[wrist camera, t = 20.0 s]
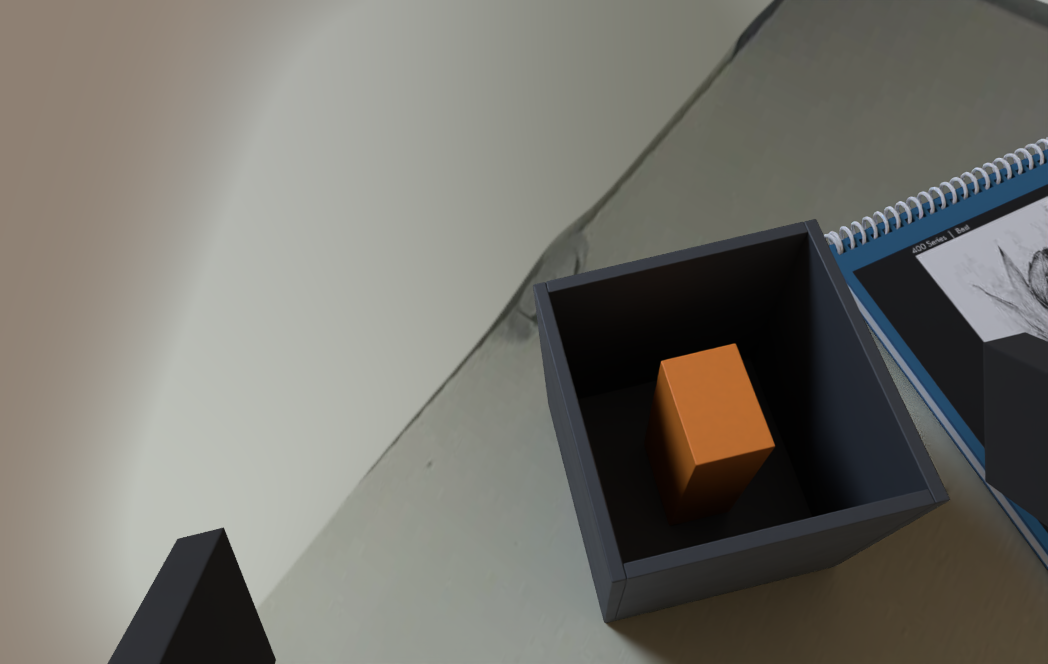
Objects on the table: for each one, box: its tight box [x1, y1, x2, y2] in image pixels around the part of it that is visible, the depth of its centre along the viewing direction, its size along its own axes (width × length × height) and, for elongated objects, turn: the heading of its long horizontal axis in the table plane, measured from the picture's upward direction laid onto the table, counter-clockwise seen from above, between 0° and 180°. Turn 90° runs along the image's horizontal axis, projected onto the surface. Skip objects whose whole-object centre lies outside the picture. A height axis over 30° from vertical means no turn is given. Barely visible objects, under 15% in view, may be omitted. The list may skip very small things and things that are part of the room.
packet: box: [644, 344, 775, 526], centre depth 39 cm, size 4×5×12 cm
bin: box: [533, 219, 950, 623], centre depth 39 cm, size 13×13×15 cm
